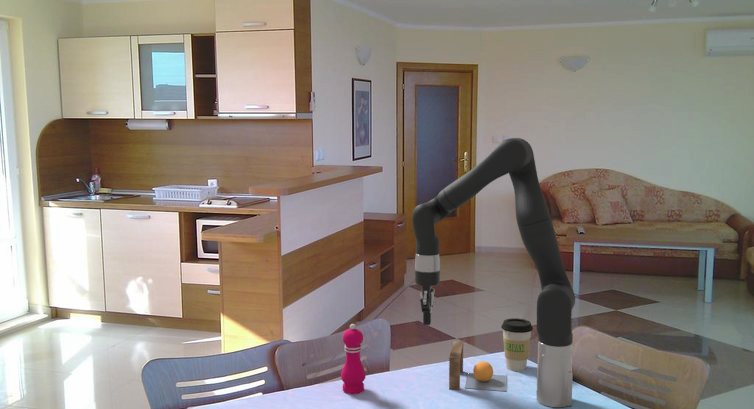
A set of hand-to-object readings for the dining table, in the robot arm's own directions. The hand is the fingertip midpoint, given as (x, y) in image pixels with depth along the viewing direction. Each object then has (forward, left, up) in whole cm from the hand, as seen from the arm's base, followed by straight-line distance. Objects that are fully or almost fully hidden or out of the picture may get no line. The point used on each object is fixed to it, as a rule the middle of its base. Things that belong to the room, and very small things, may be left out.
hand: (427, 324), depth 192 cm
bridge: (-9, 0, -17) cm, 19 cm away
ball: (-17, -1, -14) cm, 22 cm away
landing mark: (-18, 0, -17) cm, 25 cm away
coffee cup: (-27, -14, -17) cm, 35 cm away
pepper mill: (+20, +14, -17) cm, 30 cm away
